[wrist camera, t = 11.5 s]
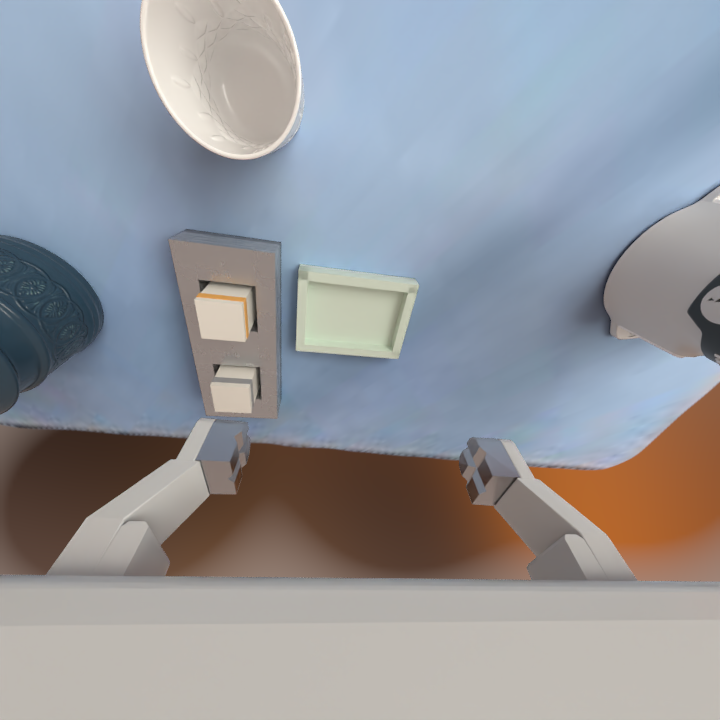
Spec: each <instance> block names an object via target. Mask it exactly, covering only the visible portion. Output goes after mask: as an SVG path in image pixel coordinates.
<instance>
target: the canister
mask: <svg viewBox="0 0 720 720" xmlns="http://www.w3.org/2000/svg"><path fill="white" fill-rule="evenodd" d="M102 325H103V310H102V307H101V304H100V301H99V299H98V297H97V295H96V293H95V292H94V290H93V289H92V287H91V286H90V285H89V283H88V282H87V281H86V280H85V279H84V278H83V277H82V276H81V275H80V274H79V273H78V272H77V271H76V270H75V269H74V268H73V267H72V266H70V265H69V264H68V263H66V262H65V261H64V260H62V259H61V258H59V257H58V256H56V255H55V254H53V253H51V252H50V251H48V250H46V249H44V248H42V247H40V246H38V245H35V244H33V243H31V242H28V241H25V240H22V239H19V238H15V237H10V236H5V235H0V414H3V413H5V412H6V411H8V410H9V409H10V408H11V407H12V406H13V405H14V404H15V403H16V401H17V399H18V397H19V393H22V392H25V391H28V390H31V389H33V388H35V387H37V386H38V385H40V384H41V383H42V382H43V381H44V380H45V379H46V377H47V376H48V375H49V374H50V373H52V372H53V371H54V370H55V369H57V368H58V367H59V366H60V365H62V364H63V363H64V362H65V361H67V360H68V359H69V358H71V357H72V356H73V355H75V354H77V353H79V352H81V351H82V350H84V349H85V348H86V347H87V346H89V345H90V344H91V343H92V342H93V341H94V339H95V338H96V336H97V334H98V333H99V332H100V330H101V328H102Z"/></svg>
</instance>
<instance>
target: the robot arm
mask: <svg viewBox="0 0 720 720" xmlns="http://www.w3.org/2000/svg"><path fill="white" fill-rule="evenodd" d="M604 306H605V309H606V311H607V313H608V314H609V316H610V318H611V327H610V333H611V335H612V336H613V337H615V338H617V339H632V338H641V339H643V340H645V341H646V342H648V343H650V344H652V345H654V346H656V347H658V348H660V349H662V350H664V351H666V352H668V353H669V354H671V355H674V356H676V357H679V358H683V357H697V356H706V357H707V358H708V359H710V360H712V361H714V362H716V363H717V364H719V366H720V186H719V187H717V188H716V189H715V190H713V191H712V192H711V193H709V194H708V195H707V196H705V197H704V198H703V199H701V200H700V201H698V202H697V203H695V204H693V205H691V206H688V207H686V208H684V209H681V210H679V211H677V212H675V213H673V214H671V215H669V216H667V217H666V218H664V219H662V220H661V221H659V222H658V223H656V224H655V225H653V226H652V227H651V228H649V229H648V230H647V231H646V232H644V233H643V234H642V235H641V236H640V237H639V238H638V239H637V240H636V241H635V242H634V243H633V244H632V245H631V246H630V247H629V248H628V249H627V250H626V251H625V253H624V254H623V255H622V256H621V258H620V259H619V260H618V262H617V263H616V265H615V267H614V268H613V270H612V272H611V274H610V276H609V278H608V281H607V283H606V287H605V291H604ZM248 430H249V427H248V422H242V421H231V420H221V419H209V418H200V419H199V420H198V421H197V422H196V424H195V426H194V428H193V430H192V431H191V433H190V435H189V437H188V439H187V440H186V442H185V444H184V446H183V448H182V449H181V451H180V453H179V455H178V457H177V459H176V460H172V459H171V460H169V461H168V462H167V463H165V464H164V465H162V466H161V467H159V468H158V469H156V470H155V471H154V472H152V473H151V474H149V475H148V476H146V477H145V478H144V479H142V480H141V481H139V482H138V483H136V484H135V485H133V486H132V487H131V488H129V489H128V490H126V491H125V492H123V493H122V494H120V495H119V496H117V497H116V498H115V499H113V500H112V501H110V502H109V503H107V504H106V505H105V506H103V507H102V508H100V509H99V510H97V511H96V512H94V513H93V514H92V515H90V516H89V517H87V518H86V520H85V521H84V522H83V524H82V525H81V527H80V528H79V529H78V531H77V532H76V534H75V535H74V536H73V538H72V539H71V541H70V542H69V543H68V545H67V546H66V548H65V549H64V551H63V552H62V553H61V555H60V556H59V557H58V559H57V560H56V562H55V563H54V564H53V566H52V567H51V569H50V570H49V571H48V573H47V574H46V575H0V720H720V582H687V581H684V582H682V581H637V579H636V578H635V576H634V575H633V573H632V572H631V570H630V569H629V567H628V566H627V564H626V563H625V561H624V560H623V558H622V557H621V555H620V554H619V553H618V551H617V549H616V548H615V546H614V545H613V543H612V542H611V541H610V539H609V538H608V536H607V535H606V534H605V533H604V532H603V531H602V530H600V529H599V528H598V527H597V526H595V525H594V524H593V523H592V522H591V521H589V520H588V519H587V518H586V517H584V516H583V515H582V514H581V513H579V512H578V511H577V510H576V509H575V508H573V507H572V506H571V505H570V504H568V503H567V502H566V501H565V500H564V499H562V498H561V497H560V496H559V495H557V494H556V493H555V492H554V491H552V490H551V489H550V488H549V487H548V486H546V485H545V484H544V483H543V482H541V481H540V480H539V479H534V476H533V475H532V473H531V471H530V470H529V468H528V466H527V464H526V463H525V461H524V459H523V457H522V456H521V454H520V452H519V450H518V449H517V447H516V445H515V443H514V442H513V441H511V440H505V439H494V438H476V437H472V438H470V439H469V440H468V442H467V445H468V448H466V449H465V450H463V451H462V453H461V455H460V458H459V466H460V471H461V474H462V476H463V477H464V478H465V479H466V480H467V481H468V483H467V485H466V488H467V491H468V494H469V496H470V499H471V502H472V504H478V505H491V506H492V505H493V506H494V508H495V509H496V510H497V511H498V512H499V513H500V515H501V516H502V517H503V518H504V519H505V520H506V522H507V523H508V524H509V525H510V526H511V527H512V528H513V530H514V531H515V532H516V533H517V534H518V536H519V537H520V538H521V539H522V540H523V541H524V543H525V544H526V545H527V546H528V547H529V548H530V549H531V551H532V552H533V553H534V554H535V555H536V558H535V559H534V560H533V561H532V562H530V563H529V564H528V566H527V570H528V572H529V575H530V577H531V580H488V579H486V580H485V579H484V580H483V579H389V578H382V579H381V578H288V577H286V578H285V577H280V578H279V577H185V576H183V577H179V576H165V574H166V572H167V569H168V567H169V565H170V561H169V559H168V557H167V555H166V554H165V552H164V550H163V549H162V547H161V546H160V545H161V544H162V543H163V541H165V540H166V539H167V538H168V537H169V536H170V535H171V534H172V533H173V532H174V531H175V530H176V529H177V528H178V527H179V526H180V525H181V524H182V523H183V522H184V521H185V520H186V519H187V518H188V517H189V516H190V514H192V513H193V512H194V511H195V510H196V509H197V507H198V506H200V504H201V503H202V502H204V500H205V499H206V498H207V497H208V496H209V494H237V491H238V488H239V485H240V481H241V478H242V470H241V468H242V467H243V466H244V465H246V463H247V460H248V456H249V450H250V437H249V436H248V435H247V433H248Z"/></svg>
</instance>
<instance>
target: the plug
mask: <svg viewBox="0 0 720 720" xmlns="http://www.w3.org/2000/svg"><path fill="white" fill-rule="evenodd" d="M194 301H195V306H196V312H197V317H198V322H199V328H200V333H201V338H202V339H214V340H226V341H238V342H245V341H246V339H248V336H249V332H250V330H251V328H252V326H253V324H254V321H255V319H256V317H257V306H256V288H255V286H250V285H241V284H232V283H224V282H215V281H211V282H210V283H209V284H208V285H207V286H206V287H205V289H204V290H203V291H202V292H201V293H199V294H198V295H197V296H196V298H195V299H194Z"/></svg>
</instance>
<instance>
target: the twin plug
mask: <svg viewBox="0 0 720 720" xmlns="http://www.w3.org/2000/svg"><path fill="white" fill-rule="evenodd" d="M260 383H261V378H260V367H248V366H234V365H220V367H219V369H218V371H217V373H216V375H215V377H214V378H213V380H212V383H211V385H210V387H211V392H212V398H213V403H214V408H215V412H233V413H252V410H253V408H254V403H255V399H256V396H257V393H258V389H259V386H260Z"/></svg>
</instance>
